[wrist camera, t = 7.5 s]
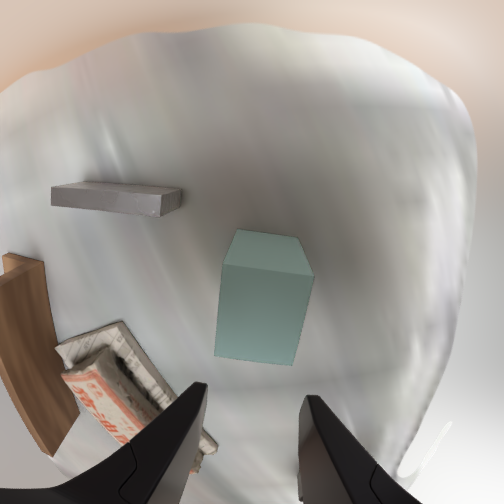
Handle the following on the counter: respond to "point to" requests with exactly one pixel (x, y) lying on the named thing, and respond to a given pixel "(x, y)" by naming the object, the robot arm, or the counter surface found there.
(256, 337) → the pale teal block
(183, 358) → the counter surface
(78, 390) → the packaged product
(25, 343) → the walnut bookend
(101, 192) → the block
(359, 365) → the counter surface
